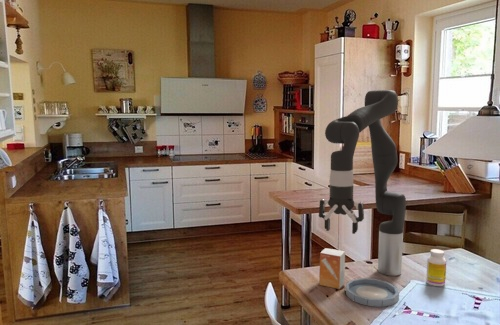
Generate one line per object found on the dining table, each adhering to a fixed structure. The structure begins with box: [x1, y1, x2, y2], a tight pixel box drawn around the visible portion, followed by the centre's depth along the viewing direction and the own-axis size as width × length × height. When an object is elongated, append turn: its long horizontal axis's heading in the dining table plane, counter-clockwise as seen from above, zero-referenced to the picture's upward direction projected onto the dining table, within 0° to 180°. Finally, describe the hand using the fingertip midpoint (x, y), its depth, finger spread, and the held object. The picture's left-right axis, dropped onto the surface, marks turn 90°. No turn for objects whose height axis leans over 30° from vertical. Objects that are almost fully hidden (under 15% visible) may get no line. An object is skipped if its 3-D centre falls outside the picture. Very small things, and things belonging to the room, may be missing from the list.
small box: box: [318, 247, 346, 290], centre depth 155 cm, size 8×6×13 cm
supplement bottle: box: [425, 248, 447, 287], centre depth 156 cm, size 7×7×13 cm
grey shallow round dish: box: [345, 277, 400, 308], centre depth 147 cm, size 18×18×2 cm
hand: (340, 231), depth 134 cm, fingers open, 8 cm apart
